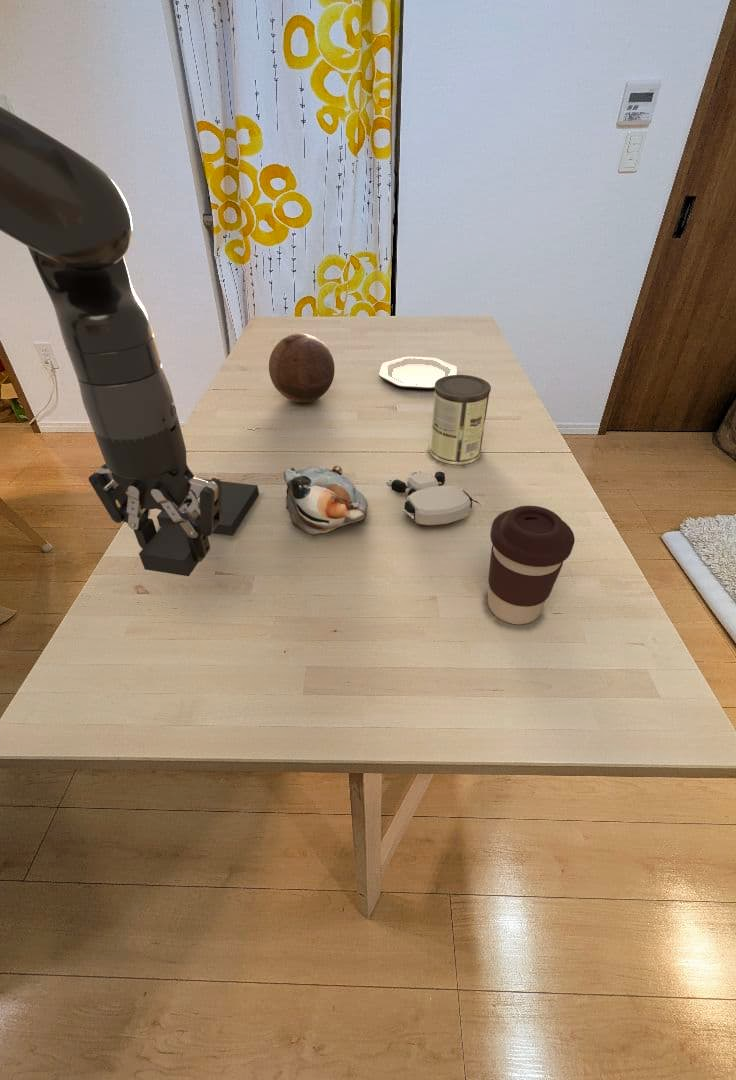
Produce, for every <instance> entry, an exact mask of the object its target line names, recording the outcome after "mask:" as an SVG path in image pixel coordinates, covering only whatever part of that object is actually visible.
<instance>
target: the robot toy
mask: <svg viewBox="0 0 736 1080" xmlns="http://www.w3.org/2000/svg"><path fill="white" fill-rule="evenodd" d="M445 483H446V473H445V471H444V470H436V471H435V472H434V474H433V473H432V472H427V471H424V470H419V471H418V472H416V471H415V472H409V473H408V477H407V478H406V482H404V481H402V480H401V479H398V478H397V479H396V478H395V479H393V478H391V479H388V480H386V483H385V484H386V486H387V487H390V488H391V491H393V492H395V493H397V494H407V495H408V496H407V498H406V501H405V502H404V505H403V506H404V507H403V510H402V512H403V514H404V515H406V516H407V517H408V518H409V519H410V520H411V521H414V522H415V523H416V524H418V525H423V526H439V525H440V526H441V525H448V524H452V523H454V522H457V521H459V520H462V519H465V518H466V517H467V516H468V515H469V514H470V513H471V509H472V507H473V502H475V503H476V504H478V505H479V506H483V503H482V502H481V501H479V500H477V499H475V498H473V496H470V495H469V494H468V492H466V490H463V489H462V488H461V487H459V486H455V485H454V486H453V485H445Z"/></svg>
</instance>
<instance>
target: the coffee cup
mask: <svg viewBox="0 0 736 1080" xmlns="http://www.w3.org/2000/svg"><path fill="white" fill-rule="evenodd" d="M489 536H490V542H491V544H492V545H491V549H490V558H489V568H488V575H487V576H488V577H487V579H488V580H487V582H488V591H487V605H488V608H489V610H490V611H491V613H492V614H493V615H494V616H495V617H497V618H498V619H499V620H501V621H503V622H505V623H509V624H513V625H526V624H530V623H531V622H534V621H535V620H537V618H538V617H539V616H540V615H541V612H542V610H543V608H544V605H545V604H546V601H547V600H548V599H549V597H550V595H551V593H552V591H553V588H554V586H555V583H556V582H557V579H558V577H559V574H560V573H561V570H562V568H563V564H564V562H565V561H566V560H567V559H568V558H569V557H570V556H571V554H572V551H573V548H574V546H575V541H576V540H575V535H574V531H573V530H572V528H571V527H570V526H569V524H567V522H565V521H564V520H563V519H562V517H561V516H560V515H558V514H557V513H556V512H554V511H552V510H550V509H548V508H545V507H542V506H537V505H520V506H517V507H514V508H511V509H508V510H505V511H502V512H501V513H500V514H498V515H497V516H496V517H495V518H494V519H493V521H492V523H491V528H490V532H489Z"/></svg>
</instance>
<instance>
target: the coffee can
mask: <svg viewBox="0 0 736 1080" xmlns="http://www.w3.org/2000/svg"><path fill="white" fill-rule="evenodd" d="M491 391H492V386H491V384H490V383H489V382H488V381H487V380H485V379H483V378H481V377H478V376H475V375H474V376H473V375H469V374H468V375H467V374H457V375H451V376H445V377H442V378H440V379H438V380H437V381H436V382H435V388H434V398H433V409H432V410H433V412H432V423H431V438H430V447H429V453H430V456H432V458H434V459H435V460H437V461H439V462H441V463H444V464H448V465H453V466H454V465H456V466H461V465H462V466H463V465H468V464H471V463H474V462H476V461H477V460H478V459H479V458H480V457H481V454H482V453H481V451H482V445H483V438H484V433H485V431H484V430H485V424H486V418H487V411H488V405H489V398H490V393H491Z"/></svg>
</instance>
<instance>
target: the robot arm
mask: <svg viewBox="0 0 736 1080" xmlns="http://www.w3.org/2000/svg"><path fill="white" fill-rule="evenodd" d="M0 231H1V232H2V233H4V234H5V235H7V236H9V237H11V238H12V239H14V240H16V241H18V242H19V243H21V244H23V245H24V246H26V247H27V249H28V252H29V254H30V256H31V259H32V260H33V261H32V262H33V263H34V265H35V268H36V270H37V272H38V275H39V277H40V279H41V281H42V284H43V286H44V289H45V290H46V293H47V294H48V296H49V300H50V301H51V303H52V306H53V308H54V311H55V316H56V319H57V323H58V326H59V330H60V334H61V338H62V341H63V343H64V346H65V350H66V352H67V355H68V357H69V360H70V362H71V365H72V369H73V371H74V373H75V377H76V379H77V382H78V386H79V390H80V391H79V392H80V397H81V400H82V404H83V407H84V410H85V412H86V414H87V417H88V420H89V423H90V425H91V428H92V430H93V433H94V436H95V440H96V442H97V444H98V447H99V450H100V452H101V455H102V457H103V460H104V464H102V465H101V466H100V467H99V468H98V469H97V470H95V471H94V472H93V473H91V475H90V476H89V477H88V482H89V483H90V485H91V486H92V488H93V490H94V492H95V493H96V495H97V497H98V499H99V500H100V501H101V503H102V505H103V507H104V508H105V510H106V511H107V513H108V515H109V516H110V518H111V520H112V521H113V522H115V523H117V524H120V523H122V522H124V523H125V524H127V525H128V528H130V529H131V530H133V532H134V535H135V538H136V540H137V544H138V545H139V547H140V548H141V550H142V549H143V548H144V547H145V546H146V545H147V543H148V542H149V541H150V540H151V539H152V537H153V536H154V535H155V534H156V533H157V532H158V530H157V529H156V525H155V522H154V519H153V518H149V517H150V516H151V510H160V511H166V512H167V513H168V515H169V516H170V518H171V519H172V520H173V522H175V523H179V524H180V525H181V527H182V528H183V529H184V531H185V532H186V533H187V535H188V536H187V541H188V544H189V548H190V551H191V553H192V556H193V560H194V561H197V562H199V563H201V562H202V561H203V560H204V559H205V558H206V556H207V555H208V554H209V552H210V551H211V543H210V540H209V539H210V538H209V537H210V536H212V534H214V533H213V531H214V529H215V528H216V526H217V525H218V524H219V523H220V522H221V494H222V484H221V481H222V480H220V479H219V478H217V477H211V479H209V480H210V481H209V482H207V481H204V480H201V479H202V478H198V477H197V478H198V479H197V478H196V477H195V474H194V473H193V472H192V470H191V468H190V467H189V466H188V463H187V447H186V443H185V440H184V436H183V432H182V427H181V424H180V420H179V416H178V413H177V408H176V405H175V401H174V397H173V393H172V389H171V386H170V383H169V380H168V378H167V375H166V373H165V371H164V368H163V364H162V361H161V357H160V354H159V349H158V346H157V341H156V338H155V335H154V331H153V328H152V323H151V321H150V318H149V315H148V312H147V310H146V308H145V306H144V304H143V302H141V300H140V298H139V297H138V295H137V293H136V292H135V289H134V288H133V285H132V282H131V278H130V274H129V270H128V267H127V263H126V260H125V257H124V256H125V255H126V254H127V252H128V250H129V248H130V246H131V242H132V237H133V221H132V215H131V212H130V208H129V205H128V202H127V201H126V198H125V197H124V195H123V193H122V192H121V190H120V188H119V187H118V186H117V184H116V182H115V181H114V180H113V179H112V178H111V177H110V176H109V175H108V174H107V173H106V172H105V171H104V170H103V169H102V168H101V167H99V166H98V165H96V163H94V162H92V161H91V160H89V159H88V158H86V157H85V156H83V155H82V154H80V153H79V152H77V151H75V150H74V149H72V148H71V147H69V146H68V145H66V144H64V143H63V142H61V141H59V140H58V139H56V138H54V137H52V136H51V135H50V134H47V133H46V132H44V131H43V130H41V129H39V128H38V127H36V126H35V125H33V124H31V123H29V121H26V120H24V119H23V118H21V117H19V116H17V115H16V114H14V113H13V112H11V111H10V110H7V109H6V108H4V107H2V106H0ZM190 490H192V491H193V492H194V493H195V494H196V498H197V499H196V498H195V496H194V495H193V493H192V492H191V491H190ZM117 502H118V504H117ZM182 502H184V504H183V506H182V507H181V509H179V508H178V507H179V506H180V505H181V504H182ZM198 503H200V509H199V508H198ZM118 505H119V506H118ZM190 516H191V518H192V519H193V520H194V522H192V521H191V519H190Z"/></svg>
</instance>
